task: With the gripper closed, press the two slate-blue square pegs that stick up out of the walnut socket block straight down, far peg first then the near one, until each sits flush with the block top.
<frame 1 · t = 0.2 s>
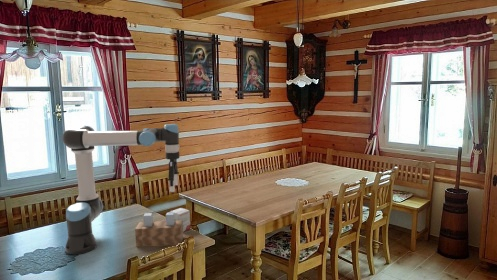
hand: (173, 188, 199), 28 cm above the table, fingers open, 13 cm apart
peg near: (148, 222, 192), point 11 cm above the table, slide at 6.0 cm
peg far: (170, 221, 193), point 11 cm above the table, slide at 6.0 cm
ink box: (180, 229, 211), on the table
socket block: (160, 241, 194), on the table
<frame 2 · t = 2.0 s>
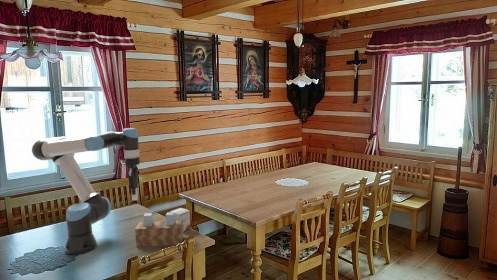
hand: (134, 199, 189), 24 cm above the table, fingers closed
nothing on the table moved.
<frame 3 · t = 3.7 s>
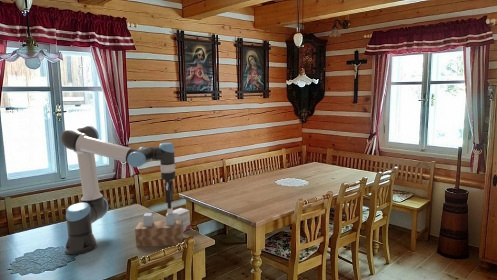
hand: (170, 213, 192), 16 cm above the table, fingers closed
peg far: (170, 222, 193), point 11 cm above the table, slide at 5.8 cm, touching gripper
everything else where it was.
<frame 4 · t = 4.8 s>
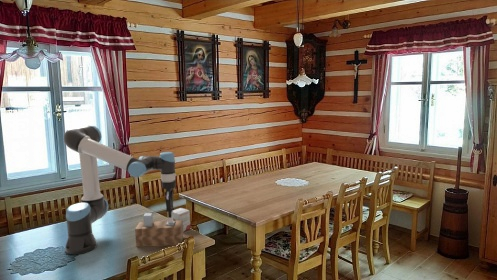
hand: (170, 222, 193), 11 cm above the table, fingers closed
peg far: (170, 230, 193), point 6 cm above the table, slide at 0.8 cm, touching gripper
everything else where it was.
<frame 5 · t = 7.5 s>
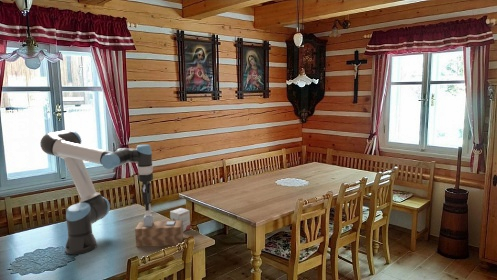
hand: (148, 215, 191), 15 cm above the table, fingers closed
peg near: (148, 224, 192), point 10 cm above the table, slide at 5.2 cm, touching gripper
peg far: (170, 231, 193), point 6 cm above the table, slide at 0.7 cm
everything else where it was.
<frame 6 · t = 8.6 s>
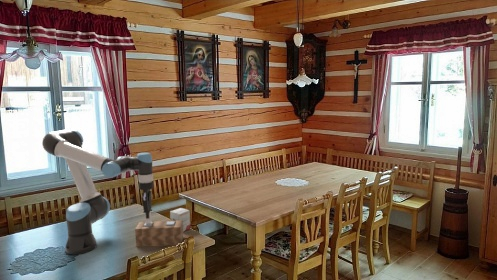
hand: (148, 223, 192), 11 cm above the table, fingers closed
peg near: (148, 231, 193), point 6 cm above the table, slide at 0.7 cm, touching gripper
everything else where it was.
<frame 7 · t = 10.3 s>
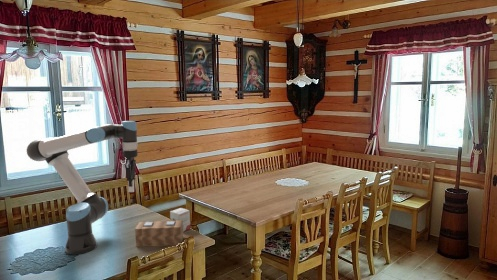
hand: (131, 191, 193), 28 cm above the table, fingers closed
peg near: (148, 231, 193), point 6 cm above the table, slide at 0.7 cm
everything else where it was.
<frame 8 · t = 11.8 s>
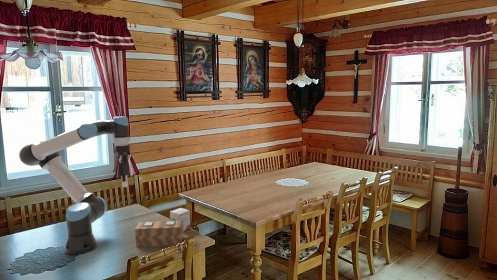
hand: (125, 186, 194), 30 cm above the table, fingers closed
nothing on the table moved.
at the end: peg far slide at 0.7 cm; peg near slide at 0.7 cm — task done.
